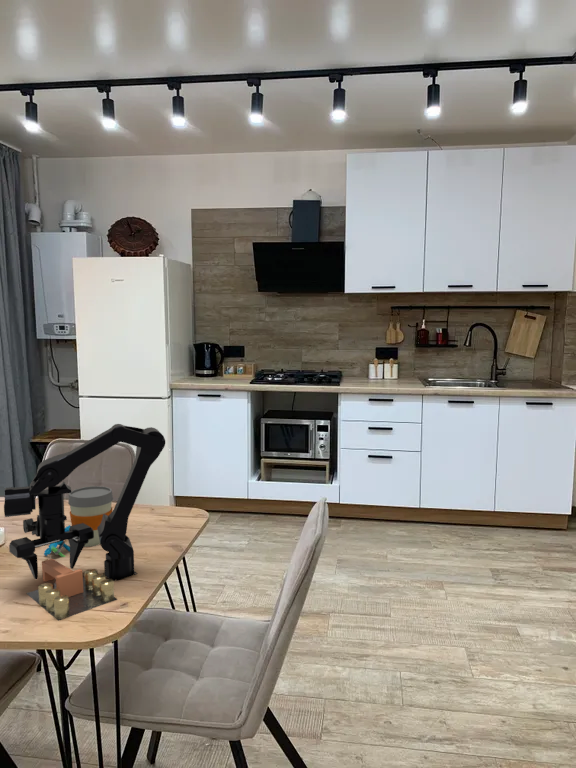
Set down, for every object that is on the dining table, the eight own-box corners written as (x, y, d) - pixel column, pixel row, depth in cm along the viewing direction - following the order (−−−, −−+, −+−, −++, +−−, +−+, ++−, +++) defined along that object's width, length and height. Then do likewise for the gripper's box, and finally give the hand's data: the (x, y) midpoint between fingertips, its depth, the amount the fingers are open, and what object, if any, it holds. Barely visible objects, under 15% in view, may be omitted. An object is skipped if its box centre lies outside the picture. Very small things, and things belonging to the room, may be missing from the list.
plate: (82, 577, 149) (82, 560, 149) (117, 601, 136) (117, 582, 136) (26, 595, 140) (25, 577, 139) (58, 623, 127) (57, 602, 126)
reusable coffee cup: (78, 552, 166) (76, 500, 164) (63, 539, 175) (61, 491, 174) (121, 542, 174) (119, 492, 172) (104, 530, 183) (102, 483, 182)
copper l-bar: (59, 577, 150) (58, 556, 149) (83, 592, 140) (82, 570, 140) (36, 584, 146) (35, 563, 145) (59, 600, 136) (58, 577, 135)
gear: (48, 541, 170) (71, 517, 169) (64, 553, 172) (87, 530, 171) (36, 561, 159) (61, 536, 158) (53, 574, 161) (78, 550, 160)
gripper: (74, 496, 155) (76, 553, 157) (-1, 512, 142) (2, 574, 144) (93, 506, 147) (95, 566, 149) (16, 523, 134) (19, 589, 136)
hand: (54, 573), depth 144 cm, fingers open, 9 cm apart
